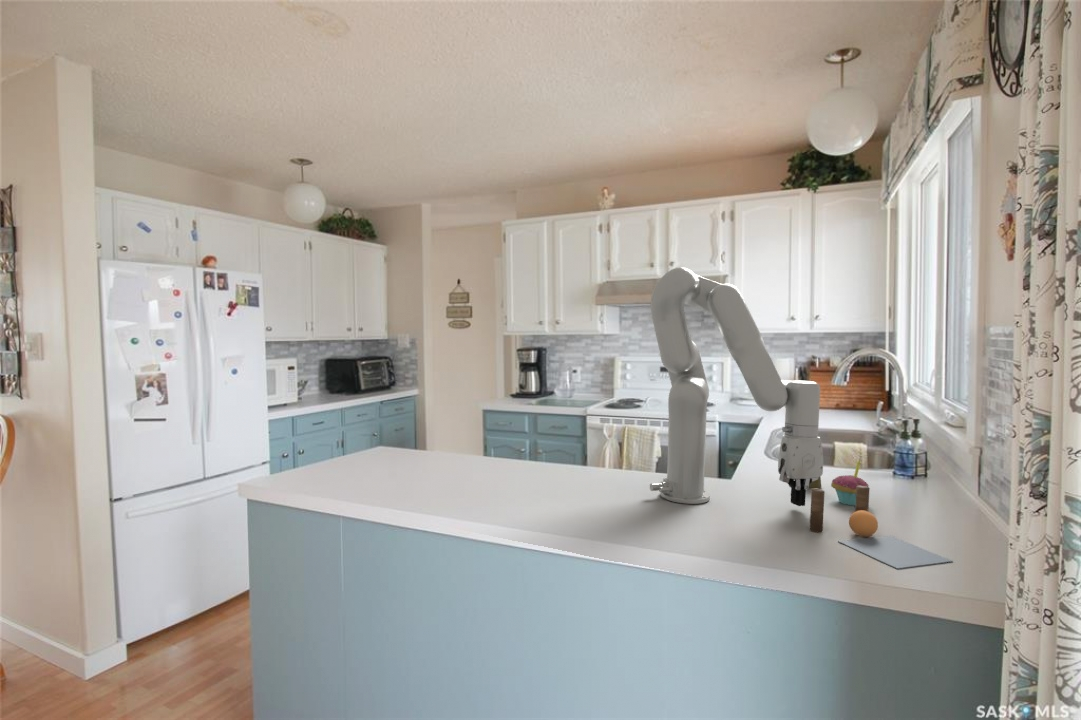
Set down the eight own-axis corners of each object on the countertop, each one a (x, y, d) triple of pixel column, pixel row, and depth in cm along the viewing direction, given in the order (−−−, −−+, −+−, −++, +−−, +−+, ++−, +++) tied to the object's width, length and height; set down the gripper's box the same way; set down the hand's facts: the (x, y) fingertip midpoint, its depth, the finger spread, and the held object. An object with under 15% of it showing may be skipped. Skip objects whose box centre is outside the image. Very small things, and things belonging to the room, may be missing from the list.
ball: (845, 537, 125) (866, 537, 120) (841, 511, 127) (861, 510, 122) (864, 535, 127) (886, 536, 122) (859, 510, 129) (881, 509, 124)
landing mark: (897, 569, 107) (897, 568, 107) (838, 542, 120) (838, 541, 120) (952, 561, 111) (952, 560, 111) (890, 536, 125) (890, 535, 125)
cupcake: (864, 500, 151) (866, 455, 151) (871, 509, 143) (873, 462, 143) (828, 496, 154) (830, 452, 153) (833, 505, 146) (835, 459, 145)
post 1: (815, 532, 126) (817, 492, 125) (807, 528, 128) (808, 489, 128) (825, 531, 126) (827, 491, 126) (816, 527, 129) (818, 488, 128)
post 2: (861, 528, 129) (863, 489, 129) (851, 524, 132) (853, 485, 131) (870, 527, 130) (872, 488, 130) (860, 523, 133) (862, 485, 132)
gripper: (786, 434, 135) (783, 511, 136) (837, 432, 139) (833, 506, 140) (765, 429, 142) (762, 501, 143) (814, 427, 146) (811, 498, 147)
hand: (797, 504), depth 142 cm, fingers closed
